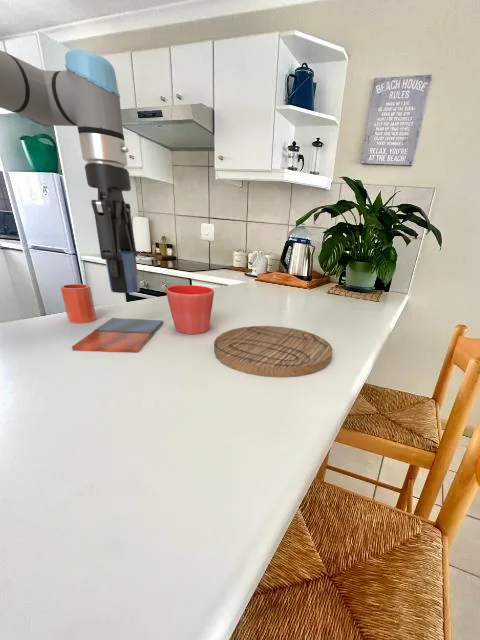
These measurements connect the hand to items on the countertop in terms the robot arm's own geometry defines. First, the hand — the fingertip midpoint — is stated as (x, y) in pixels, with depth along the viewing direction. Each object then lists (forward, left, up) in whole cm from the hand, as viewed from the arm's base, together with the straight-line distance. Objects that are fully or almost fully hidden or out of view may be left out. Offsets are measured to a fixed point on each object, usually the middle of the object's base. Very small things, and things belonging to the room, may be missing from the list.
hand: (125, 289), depth 72 cm
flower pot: (+14, +1, -9) cm, 17 cm away
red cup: (-13, +5, -9) cm, 17 cm away
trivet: (+33, -12, -9) cm, 36 cm away
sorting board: (0, -5, -9) cm, 10 cm away
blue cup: (0, 0, 0) cm, 0 cm away
